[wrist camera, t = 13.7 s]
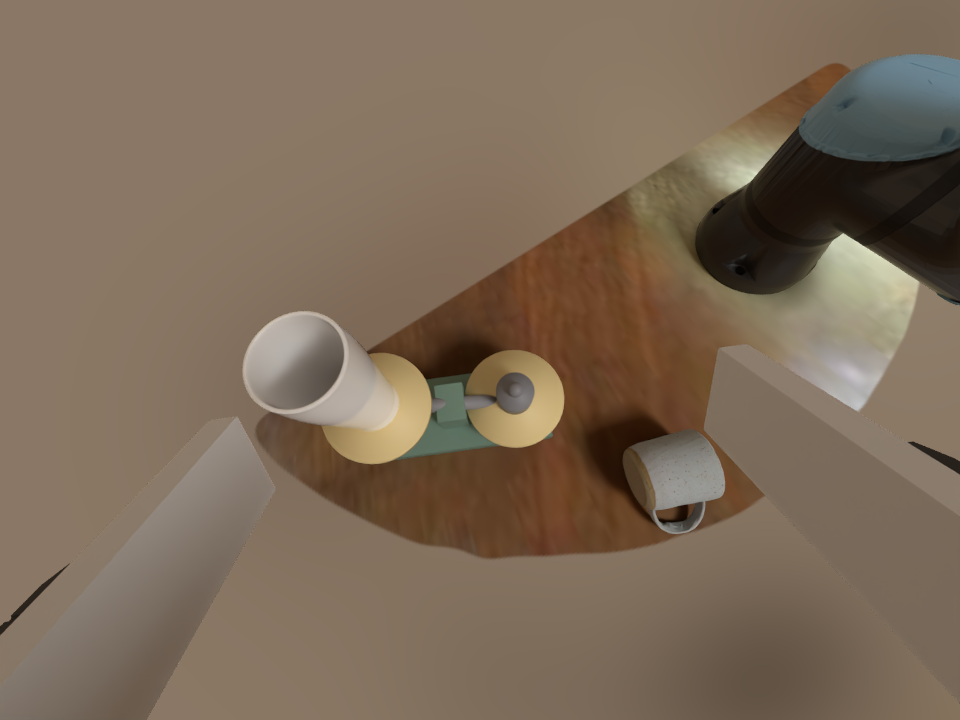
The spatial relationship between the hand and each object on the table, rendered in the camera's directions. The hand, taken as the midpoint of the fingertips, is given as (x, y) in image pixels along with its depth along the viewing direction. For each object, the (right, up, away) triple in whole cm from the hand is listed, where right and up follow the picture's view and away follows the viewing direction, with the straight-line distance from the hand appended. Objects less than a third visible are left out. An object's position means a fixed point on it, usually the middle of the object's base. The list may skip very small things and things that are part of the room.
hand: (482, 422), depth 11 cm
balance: (-3, -5, +38) cm, 38 cm away
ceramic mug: (+22, -13, +35) cm, 43 cm away
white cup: (-11, -3, +27) cm, 29 cm away
